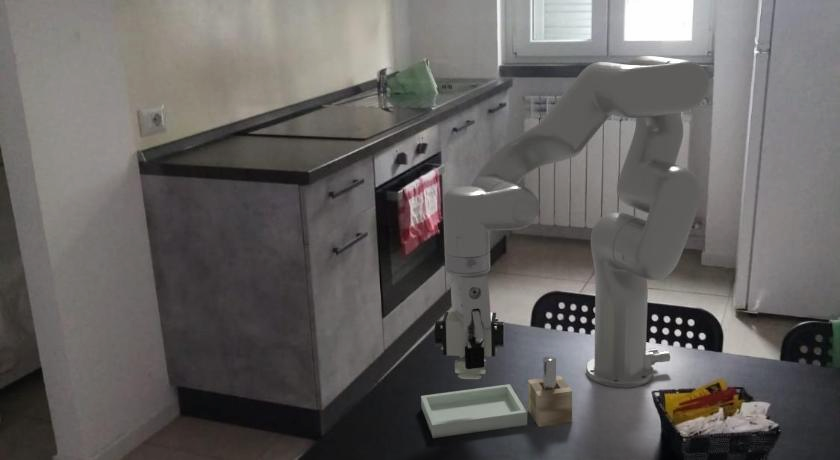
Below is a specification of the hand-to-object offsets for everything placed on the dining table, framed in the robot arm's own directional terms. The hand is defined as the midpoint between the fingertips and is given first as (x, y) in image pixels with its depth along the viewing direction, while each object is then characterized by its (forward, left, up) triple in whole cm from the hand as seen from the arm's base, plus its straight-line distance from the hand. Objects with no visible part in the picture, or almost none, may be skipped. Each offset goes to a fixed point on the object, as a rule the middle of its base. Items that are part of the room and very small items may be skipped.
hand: (470, 358), depth 150 cm
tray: (0, 0, -11) cm, 11 cm away
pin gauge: (-13, +3, -11) cm, 18 cm away
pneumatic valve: (0, 0, -3) cm, 3 cm away
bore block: (-13, +3, -11) cm, 18 cm away
